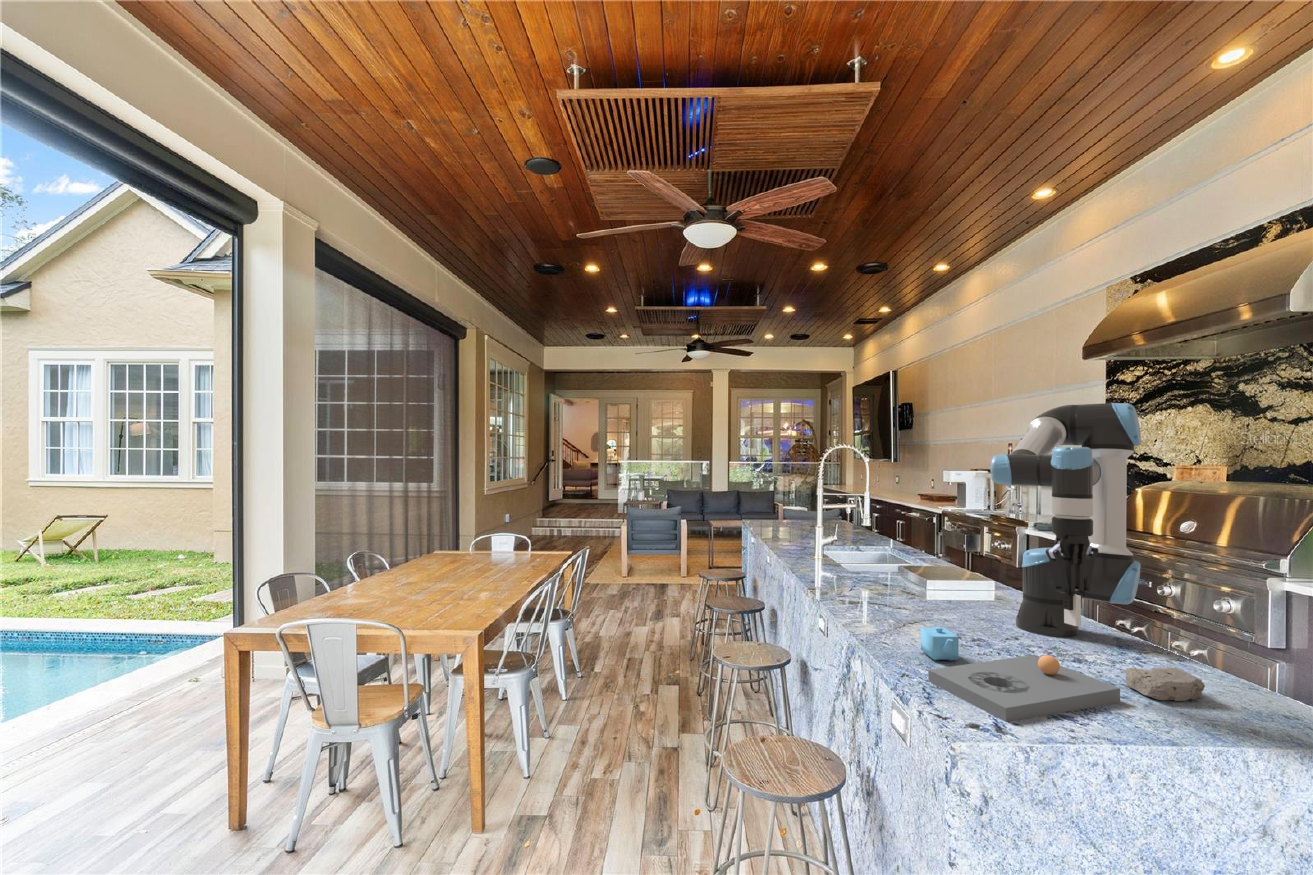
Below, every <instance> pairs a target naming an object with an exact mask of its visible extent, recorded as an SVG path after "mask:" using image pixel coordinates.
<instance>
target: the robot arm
mask: <svg viewBox="0 0 1313 875" xmlns="http://www.w3.org/2000/svg"><path fill="white" fill-rule="evenodd" d="M1140 426H1141V425H1140V421H1139V418H1138V412H1137V410H1136V408H1135V406H1134V405H1132V404H1131V403H1127V402H1126V403H1124V402H1123V403H1121V402H1120V403H1119V402H1108V403H1106V402H1104V403H1090V404H1089V403H1088V404H1065V405H1062V406H1057V407H1055V408H1051V409H1049V410H1047V411H1045V412H1042V413H1041V414H1039V415H1038V416H1036V417H1035V418H1033V419H1032V420H1031V421H1030V423H1029V424H1028V426H1027V428H1026V434H1025V435H1024V437H1022V438H1021V439H1020V441H1019V443H1018V444H1017V445H1016V446H1015V447H1014V448H1013V450H1012V451H1011V452H1010V453H1009V454H1007V453H1006V454H1005V453H1004V454H995V455H994V456H993V457H992V459H991V460H990V461H991V462H990V477H991V480H992V481H993V482H994V483H995V484H996V485H997V484H998V485H1007V486H1028V487H1033V486H1034V487H1051V513H1052V515H1055V516H1052V518H1051V533H1053V534H1054V535H1055V540H1054V545H1053V547H1038V548H1037V547H1036V548H1030V549H1028V550H1026V551H1024V552H1023V554H1022V563H1021V570H1022V572H1021V574H1022V602H1021V603H1020V606H1019V609H1018V612H1017V615H1016V617H1015V626H1016V627H1017V628H1018V629H1020V630H1022V631H1025V632H1028V633H1030V634H1031V633H1032V634H1034V635H1040V636H1045V637H1051V638H1074V637H1078V636H1079V634H1080V632H1079V631H1080V629H1079V628H1080V627H1081V626H1082V608H1083V600H1089V601H1096V602H1105V603H1108V604H1119V605H1129V604H1132V603H1134V601H1135V598H1136V595H1137V592H1138V588H1139V587H1138V586H1139V583H1140V577H1141V568H1142V566H1141V563H1140V562H1139V561H1137V560H1134V554H1133V552H1132V551H1130V549H1129V548H1127V493H1128V492H1127V486H1128V485H1127V480H1128V478H1127V473H1128V472H1127V471H1128V467H1127V466H1128V463H1127V462H1128V459H1129V457H1130V456H1132V455H1133V454H1135V447H1138V446H1141V445H1142V433H1141V428H1140ZM1069 446H1070V447H1069Z"/></svg>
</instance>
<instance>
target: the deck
mask: <svg viewBox="0 0 1313 875" xmlns="http://www.w3.org/2000/svg"><path fill="white" fill-rule="evenodd" d="M1039 659H1040V657H1038V656H1036V655H1034V654H1030V655H1024V656H1018V657H1017V656H1016V657H1009V658H1002V659H995V660H988V661H982V662H981V661H980V662H974V663H973V662H972V663H967V664H959V665H952V666H946V667H938V668H933V669H928V670H927V671H928V674H927V676H928V683H930V682H931V683H930V684H931V685H934V686H936V687H938V688H939V687H940V688H939V689H942V690H944V691H946V692H947V691H948V692H947V693H949V694H951V695H953V696H955V697H956V698H959V699H960V700H963V701H964V700H965V702H966V703H968V704H971V705H972V706H974V707H975V708H978V709H980V710H982V711H984V712H986V714H987V713H988V714H989V715H992V716H994V717H996V718H997V719H999V720H1001V721H1003V722H1005V723H1008V722H1013V721H1019V720H1020V721H1021V720H1024V719H1025V720H1026V719H1031V718H1036V717H1037V716H1038V717H1041V716H1042V717H1043V716H1047V715H1048V716H1049V715H1055V714H1060V713H1066V712H1073V711H1077V710H1083V709H1088V708H1090V709H1091V708H1096V707H1101V706H1106V705H1107V706H1108V705H1112V704H1114V705H1115V704H1119V703H1121V688H1120V687H1118V686H1116V685H1113V684H1109V683H1107V682H1104V681H1102V680H1099V679H1097V678H1095V677H1092V676H1089V675H1086V674H1083V673H1080V672H1079V671H1076V670H1074V669H1070V668H1067V667H1065V666H1062V665H1060V670H1059V672H1058V673H1056V674H1054V675H1048V674H1045V673H1044V672H1042V671H1041V670H1040V668H1039V666H1038V660H1039Z"/></svg>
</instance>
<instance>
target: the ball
mask: <svg viewBox="0 0 1313 875" xmlns="http://www.w3.org/2000/svg"><path fill="white" fill-rule="evenodd" d="M1039 658H1040V659H1039V660H1038V666H1039V668H1040V670H1041V671H1042V672H1044V673H1045V674H1048V675H1054V674H1056V673H1058V672H1059V670H1060V666H1061V664H1060V662H1059V660H1058V659H1057V658H1056V657H1054V656H1052V655H1050V654H1049V655H1048V654H1047V655H1046V654H1044V655H1042V656H1041V657H1039Z"/></svg>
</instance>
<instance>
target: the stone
mask: <svg viewBox="0 0 1313 875" xmlns="http://www.w3.org/2000/svg"><path fill="white" fill-rule="evenodd" d="M1125 685H1126V687H1127V688H1130V689H1133V690H1135V691H1137V692H1138V693H1140V694H1141V695H1144V696H1145V697H1150V698H1152V699H1155V700H1158V701H1171V700H1174V702H1185V701H1186V700H1187V701H1189V700H1191V701H1193V700H1196V699H1199V698H1202V697H1203V691H1204V690H1205V688H1206V687H1205V686H1206V685H1205V683H1204V682H1203V681H1202V679H1200V678H1198V677H1197V676H1195V675H1192V674H1191V673H1189V672H1187V671H1185V670H1183V669H1181V668H1176V667H1172V666H1171V667H1170V666H1169V667H1152V668H1151V670H1150V669H1144V668H1136V667H1128V668H1126V670H1125Z"/></svg>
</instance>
